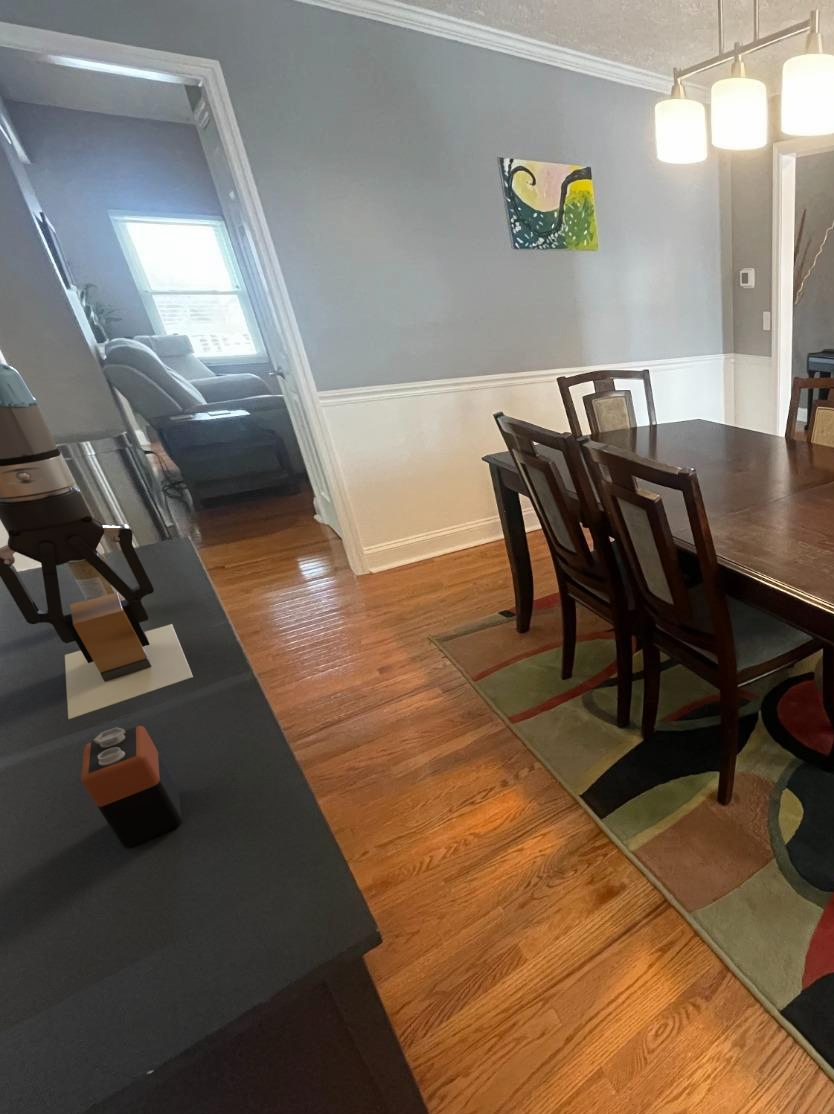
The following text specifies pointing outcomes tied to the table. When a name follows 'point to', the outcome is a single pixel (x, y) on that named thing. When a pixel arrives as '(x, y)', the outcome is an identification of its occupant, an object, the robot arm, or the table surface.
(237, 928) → the table surface
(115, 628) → the eraser
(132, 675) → the board
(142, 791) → the battery
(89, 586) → the sprinkles bottle
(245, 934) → the table surface
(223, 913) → the table surface
